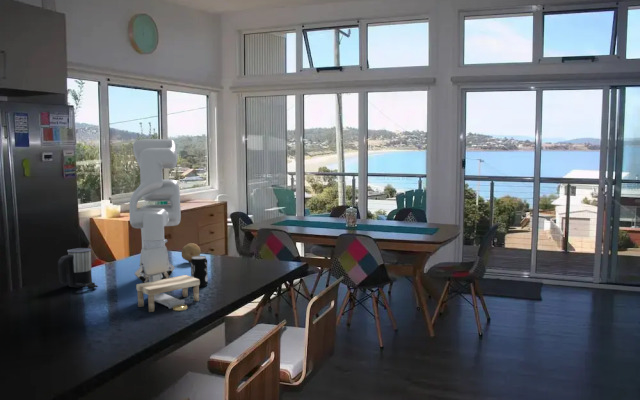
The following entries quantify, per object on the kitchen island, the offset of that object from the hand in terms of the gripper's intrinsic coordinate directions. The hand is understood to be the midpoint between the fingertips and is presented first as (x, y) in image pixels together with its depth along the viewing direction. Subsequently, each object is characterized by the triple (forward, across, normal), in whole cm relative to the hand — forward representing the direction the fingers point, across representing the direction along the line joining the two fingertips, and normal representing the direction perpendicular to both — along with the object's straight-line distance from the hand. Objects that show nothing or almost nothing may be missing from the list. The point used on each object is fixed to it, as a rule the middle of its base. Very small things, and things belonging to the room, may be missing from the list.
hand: (155, 289), depth 205 cm
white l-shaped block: (+3, 0, +7) cm, 7 cm away
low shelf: (+3, 0, +10) cm, 10 cm away
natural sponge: (+3, -40, -41) cm, 57 cm away
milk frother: (+3, +14, -35) cm, 37 cm away
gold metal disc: (+3, 0, +18) cm, 19 cm away
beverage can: (+3, -21, -3) cm, 21 cm away
